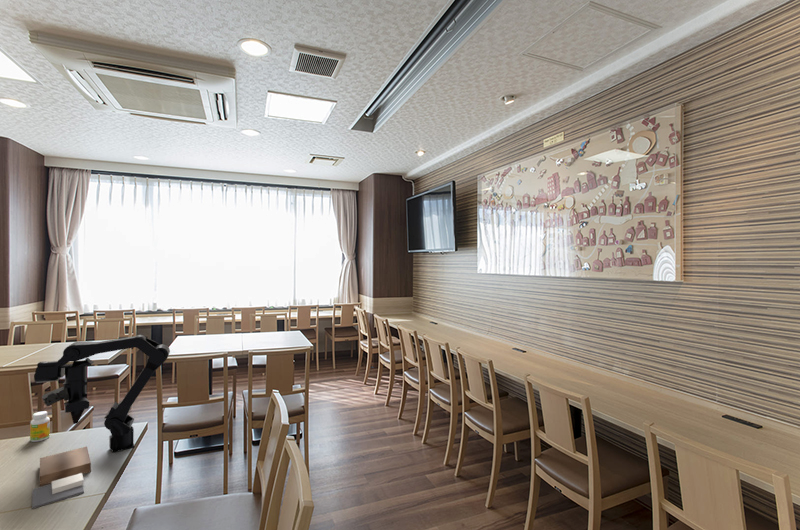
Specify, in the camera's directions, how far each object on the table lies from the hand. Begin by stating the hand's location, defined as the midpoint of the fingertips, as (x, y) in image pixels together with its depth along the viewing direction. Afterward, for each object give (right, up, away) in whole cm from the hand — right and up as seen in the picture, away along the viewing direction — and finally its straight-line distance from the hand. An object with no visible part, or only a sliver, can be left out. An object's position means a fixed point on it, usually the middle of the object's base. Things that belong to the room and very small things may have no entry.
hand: (75, 423), depth 134 cm
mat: (+12, -12, -21) cm, 27 cm away
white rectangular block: (+13, -10, -18) cm, 25 cm away
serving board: (+4, -11, -9) cm, 15 cm away
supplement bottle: (-23, -11, +11) cm, 27 cm away
